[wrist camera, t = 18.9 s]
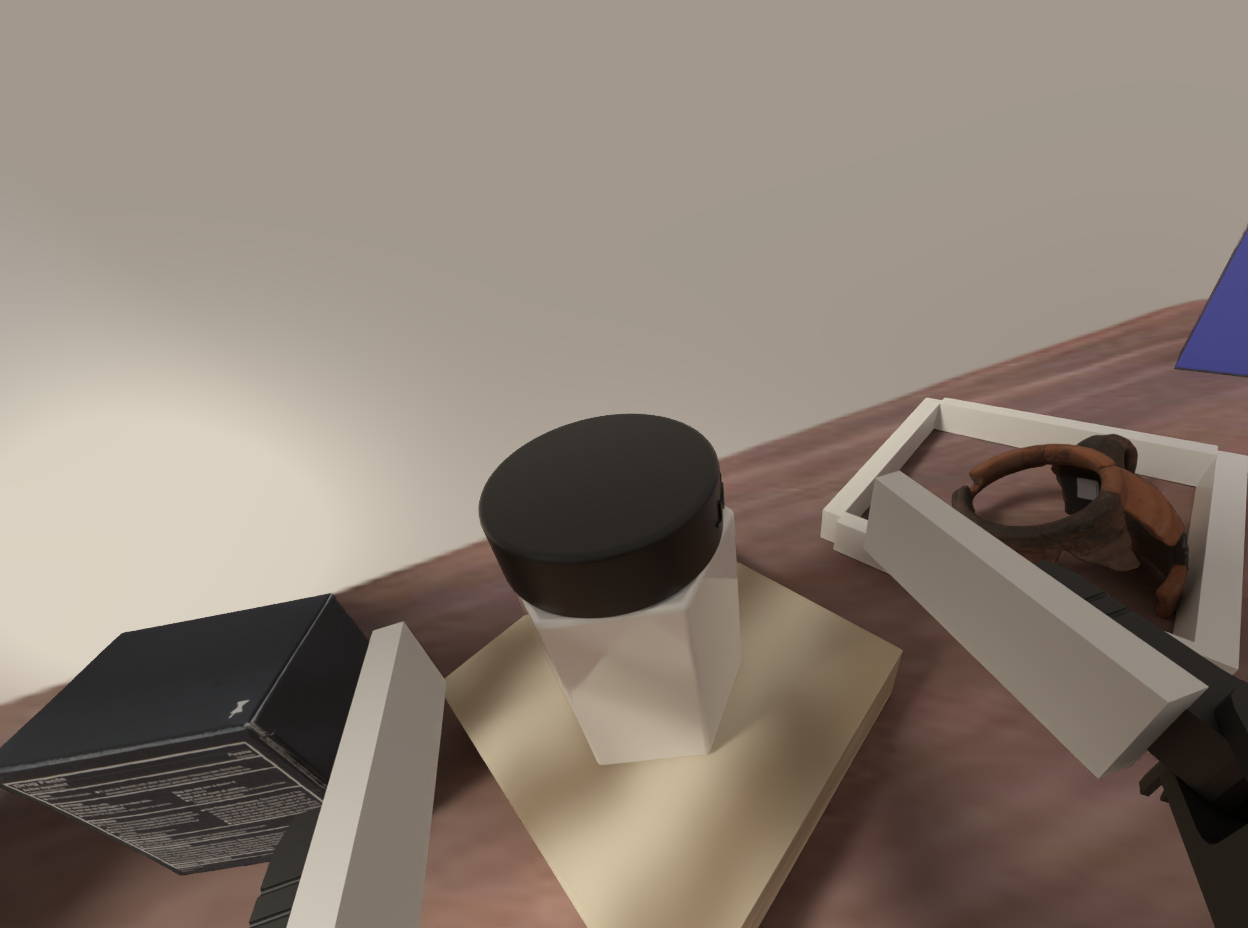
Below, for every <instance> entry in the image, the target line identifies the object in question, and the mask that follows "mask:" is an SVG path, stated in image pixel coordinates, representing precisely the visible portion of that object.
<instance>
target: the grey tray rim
mask: <svg viewBox="0 0 1248 928" xmlns="http://www.w3.org/2000/svg"><path fill="white" fill-rule="evenodd" d="M933 429H937V430H941V431H946V432H950V433H955V434H959V435H964V436H968V437H973V438H977V439H982V440H986V441H991V442H995V443H1000V444H1005V445H1009V446H1014V447H1018V448H1024V447H1028V446H1034V445H1045V444H1070V445H1077V444H1078V443H1079V442H1081V441H1082V440H1084V439H1086V438H1088V437H1090V436H1093V435H1108V434H1117V435H1120V436H1123V437H1125V438H1127V439H1129V440H1130V441H1131V442H1132V444H1133V445H1134V446H1135V447H1136V449H1137V452H1138V458H1137V466H1136V471H1135V473H1136V474H1140V475H1145V476H1149V477H1154V478H1159V479H1163V480H1168V481H1172V482H1177V483H1181V484H1186V485H1190V486H1195V487H1196V490H1195V496H1194V503H1193V509H1192V515H1191V522H1190V528H1189V535H1188V541H1187V543H1188V547H1189V556H1188V557H1189V562H1188V568H1189V569H1188V572H1187V579H1186V581H1185V583H1184V585H1183V588H1182V595H1181V600H1180V603H1179V605H1178V607H1177V611H1176V618H1175V624H1174V630H1173V634H1171V633H1168V632H1167V633H1168V634H1170V635H1171V636H1173V637H1174V638H1176V639H1177V640H1179V641H1180V642H1182V643H1183V644H1185V645H1186V646H1188V647H1189V648H1191V649H1192V650H1194V651H1195V652H1197V653H1198V654H1200V655H1201V656H1203V657H1204V658H1206V659H1207V660H1209V661H1210V662H1212V663H1213V664H1215V665H1216V666H1218V667H1220V668H1221V669H1223V670H1224V671H1226V672H1228V673H1229V674H1231V675H1233V674H1234V673H1235V672H1236V671H1237V670H1238V669H1239V648H1240V626H1241V604H1242V583H1243V561H1244V539H1245V517H1246V495H1247V473H1248V456H1246V455H1240V454H1235V453H1229V452H1224V451H1218V446H1216V445H1210V444H1204V443H1199V442H1193V441H1187V440H1182V439H1176V438H1170V437H1165V436H1159V435H1154V434H1148V433H1142V432H1137V431H1131V430H1125V429H1120V428H1114V427H1108V426H1103V425H1097V424H1091V423H1086V422H1080V421H1074V420H1069V419H1063V418H1058V417H1052V416H1046V415H1041V414H1035V413H1029V412H1024V411H1018V410H1012V409H1007V408H1001V407H995V406H990V405H984V404H978V403H973V402H967V401H961V400H956V399H950V398H944V399H943V400H937V399H932V398H926V399H925V400H924V401H923V402H922V403H921V404H920V405H919V406H918V407H917V408H916V409H915V410H914V412H913V413H912V414H911V415H910V416H909V417H908V418H907V419H906V420H905V421H904V422H903V423H902V425H901V426H900V427H899V428H898V429H897V430H896V431H895V432H894V433H893V434H892V435H891V437H890V438H889V439H888V440H887V441H886V442H885V443H884V444H883V445H882V446H881V447H880V448H879V450H878V451H877V452H876V453H875V454H874V455H873V456H872V457H871V458H870V459H869V460H868V461H867V463H866V464H865V465H864V466H863V467H862V468H861V469H860V470H859V471H858V472H857V473H856V474H855V476H854V477H853V478H852V479H851V480H850V481H849V482H848V483H847V484H846V485H845V486H844V487H843V489H842V490H841V491H840V492H839V493H838V494H837V495H836V496H835V497H834V498H833V499H832V500H831V502H830V503H829V504H828V505H827V506H826V507H825V508H824V509H823V514H822V525H821V536H820V537H821V538H823V539H826V540H828V541H831V542H833V543H834V547H833V550H835V551H838V552H840V553H842V554H844V555H847V556H849V557H851V558H854V559H856V560H858V561H860V562H863V563H865V564H867V565H870V566H872V567H874V568H876V569H879V570H881V571H883V572H886V573H888V572H887V571H886V570H885V569H884V568H883V567H882V566H881V565H880V564H879V563H878V562H877V561H876V560H875V559H874V558H873V557H872V556H871V555H870V554H869V553H868V552H867V551H866V550H865V549H864V543H865V536H866V530H867V524H868V520H866V519H863V518H860V517H861V516H862V514H863V513H864V512H865V511H866V510H867V508H868V507H869V506H870V505H871V499H872V493H873V487H874V481H875V478H877V477H880V476H883V475H886V474H890V473H893V472H896V471H899V470H900V469H901V468H902V466H903V465H904V464H905V463H906V462H907V460H908V459H909V458H910V457H911V456H912V454H913V453H914V452H915V451H916V450H917V448H918V447H919V446H920V445H921V444H922V442H923V441H924V440H925V439H926V438H927V436H928V435H929V434H930V433H931V432H932V430H933ZM888 574H889V573H888ZM1165 632H1166V631H1165Z"/></svg>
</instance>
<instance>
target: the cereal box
mask: <svg viewBox="0 0 1248 928" xmlns="http://www.w3.org/2000/svg"><path fill="white" fill-rule="evenodd" d="M1174 369H1181V370H1189V371H1198V372H1207V373H1215V374H1224V375H1233V376H1241V377H1248V225H1247V227H1246V229H1245V230H1244V232H1243V234H1242V236H1241V238H1240V240H1239V242H1238V244H1237V246H1236V248H1235V249H1234V251H1233V253H1232V255H1231V257H1230V259H1229V261H1228V263H1227V265H1226V267H1225V268H1224V270H1223V272H1222V274H1221V276H1220V278H1219V280H1218V282H1217V284H1216V286H1215V288H1214V289H1213V291H1212V293H1211V295H1210V297H1209V299H1208V301H1207V303H1206V305H1205V306H1204V308H1203V310H1202V312H1201V314H1200V316H1199V318H1198V320H1197V322H1196V324H1195V325H1194V327H1193V329H1192V331H1191V333H1190V335H1189V337H1188V339H1187V341H1186V343H1185V344H1184V346H1183V348H1182V350H1181V353H1180V355H1179V358H1178V360H1177V363H1176V366H1175V368H1174Z"/></svg>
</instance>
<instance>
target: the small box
mask: <svg viewBox="0 0 1248 928" xmlns="http://www.w3.org/2000/svg"><path fill="white" fill-rule="evenodd" d="M368 645H369V640H368V639H367V638H366V637H365V635H364V634H363V633H362V632H361V630H360V629H359V628H358V627H357V625H356V624H355V623H354V621H353V620H352V619H351V618H350V617H349V615H348V614H347V613H346V612H345V610H344V609H343V608H342V606H341V605H340V604H339V603H338V601H337V600H336V598H335V596H334V595H333V594H331V593H329V594H325V595H319V596H315V597H309V598H304V599H299V600H294V601H289V602H284V603H278V604H273V605H268V606H263V607H257V608H253V609H247V610H242V611H237V612H231V613H227V614H221V615H215V616H210V617H205V618H200V619H195V620H190V621H184V622H179V623H173V624H168V625H163V626H158V627H152V628H146V629H141V630H136V631H131V632H125V633H122V634H121V635H120V636H118V637H117V638H116V639H115V640H114V641H113V642H112V643H111V644H110V645H108V646H107V647H106V648H105V649H104V650H103V651H102V652H101V653H100V654H99V655H98V656H97V657H96V658H95V659H94V660H93V661H92V662H91V663H90V664H89V665H87V666H86V668H84V669H83V670H82V671H81V672H80V673H79V674H78V675H77V676H76V677H75V678H74V679H73V680H72V681H71V682H70V683H69V684H68V685H67V686H66V687H65V688H64V689H63V690H62V691H60V692H59V693H58V694H57V695H56V696H55V697H54V698H53V699H52V700H51V701H50V702H49V703H48V704H47V705H46V706H45V707H44V708H43V709H41V710H40V711H39V712H38V713H37V714H36V715H35V716H34V717H33V718H32V719H31V720H30V721H29V722H28V723H26V724H25V725H24V726H23V727H22V728H21V729H20V730H19V731H18V732H17V733H16V734H15V735H14V736H13V737H11V738H10V739H9V740H8V741H7V742H6V743H5V744H4V745H3V746H2V747H1V748H0V788H2V789H4V790H6V791H9V792H11V793H13V794H17V795H19V796H21V797H25V798H27V799H29V800H31V801H34V802H36V803H38V804H40V805H44V806H45V807H46V808H48V809H51V810H55V811H56V812H58V813H59V814H62V815H64V816H66V817H68V818H70V819H71V820H73V821H75V822H78V823H80V824H82V825H84V826H86V827H88V828H90V829H92V830H94V831H96V832H98V833H101V834H102V835H104V836H107V837H109V838H110V839H112V840H114V841H116V842H118V843H120V844H122V845H125V846H127V847H129V848H131V849H132V850H134V851H136V852H139V853H141V854H143V855H145V856H147V857H148V858H150V859H152V860H154V861H156V862H158V863H159V864H161V865H163V866H165V867H166V868H168V869H170V870H172V871H173V872H175V873H177V874H179V875H187V874H192V873H199V872H207V871H213V870H220V869H225V868H230V867H238V866H247V865H250V864H256V863H263V862H269V861H270V860H271V857H272V854H273V851H274V850H275V848H276V846H277V845H278V843H279V841H280V840H281V838H282V836H283V835H284V833H285V832H286V830H287V828H288V827H289V825H290V823H291V822H292V820H293V818H294V817H295V815H297V814H299V813H302V812H305V811H308V810H311V809H314V808H317V807H320V806H322V804H323V800H324V797H325V793H326V790H327V786H328V783H329V779H330V776H331V773H332V769H333V766H334V762H335V759H336V755H337V752H338V749H339V745H340V742H341V738H342V735H343V731H344V728H345V724H346V721H347V718H348V714H349V711H350V707H351V704H352V700H353V697H354V694H355V690H356V687H357V683H358V680H359V676H360V673H361V669H362V666H363V663H364V659H365V656H366V652H367V649H368Z"/></svg>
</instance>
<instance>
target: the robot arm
mask: <svg viewBox="0 0 1248 928" xmlns="http://www.w3.org/2000/svg"><path fill="white" fill-rule="evenodd" d="M864 549H865V550H866V551H867V552H868V553H869V554H870V555H871V556H872V557H873V558H874V559H875V560H876V561H877V562H878V563H879V564H880V565H881V566H882V567H883V568H884V569H885V570H886V571H887V572H888V573H889V574H890V575H891V576H892V577H893V578H894V579H895V580H896V581H897V582H898V583H899V584H900V585H901V586H902V587H903V588H904V589H905V590H906V591H907V592H908V593H909V594H910V595H911V596H912V597H913V598H914V599H915V600H916V601H917V602H919V603H920V604H921V605H922V606H923V607H924V608H925V609H926V610H927V611H928V612H929V613H930V614H931V615H932V616H933V617H934V618H935V619H936V620H937V621H938V622H939V623H940V624H941V625H942V626H943V627H944V628H945V629H946V630H947V631H948V632H949V633H950V634H951V635H952V636H953V637H954V638H955V639H956V640H957V641H958V642H959V643H960V644H961V645H962V646H963V647H964V648H965V649H966V650H967V651H968V652H969V653H970V654H971V655H972V656H973V657H974V658H975V659H977V660H978V661H979V662H980V663H981V664H982V665H983V666H984V667H985V668H986V669H987V670H988V671H989V672H990V673H991V674H992V675H993V676H994V677H995V678H996V679H997V680H998V681H999V682H1000V683H1001V684H1002V685H1003V686H1004V687H1005V688H1006V689H1007V690H1008V691H1009V692H1010V693H1011V694H1012V695H1013V696H1014V697H1015V698H1016V699H1017V700H1018V701H1019V702H1020V703H1021V704H1022V705H1023V706H1024V707H1025V708H1026V709H1027V710H1028V711H1029V712H1030V713H1031V714H1032V715H1033V716H1035V717H1036V718H1037V719H1038V720H1039V721H1040V722H1041V723H1042V724H1043V725H1044V726H1045V727H1046V728H1047V729H1048V730H1049V731H1050V732H1051V733H1052V734H1053V735H1054V736H1055V737H1056V738H1057V739H1058V740H1059V741H1060V742H1061V743H1062V744H1063V745H1064V746H1065V747H1066V748H1067V749H1068V750H1069V751H1070V752H1071V753H1072V754H1073V755H1074V756H1075V757H1076V758H1077V759H1078V760H1079V761H1080V762H1081V763H1082V764H1083V765H1084V766H1085V767H1086V768H1087V769H1088V770H1089V771H1090V772H1091V773H1093V774H1094V775H1095V776H1096V777H1097V778H1098V779H1099V778H1102V777H1105V776H1107V775H1110V774H1112V773H1115V772H1117V771H1120V770H1122V769H1125V768H1127V767H1130V766H1132V765H1133V764H1134V763H1135V762H1136V761H1137V760H1138V759H1139V758H1140V757H1141V756H1142V755H1143V754H1144V753H1145V752H1146V751H1147V750H1148V751H1149V752H1150V753H1151V754H1152V755H1154V756H1155V757H1156V758H1157V759H1158V760H1159V762H1158V763H1157V764H1156V765H1155V766H1154V767H1153V768H1152V769H1150V770H1149V771H1148V772H1147V773H1146V774H1145V775H1144V777H1143V778H1142V779H1141V781H1140V782H1139V784H1140V794H1142V795H1145V796H1148V797H1149V796H1150V795H1151V794H1152V793H1153V792H1154V791H1155V790H1156V789H1157V788H1159V787H1160V786H1161V785H1162V786H1163V789H1164V791H1163V792H1162V795H1161V797H1160V800H1161V801H1164V802H1167V803H1169V805H1170V807H1171V810H1172V813H1173V815H1174V818H1175V821H1176V824H1177V826H1178V829H1179V832H1180V834H1181V837H1182V840H1183V842H1184V845H1185V848H1186V850H1187V853H1188V856H1189V858H1190V861H1191V864H1192V867H1193V869H1194V872H1195V875H1196V877H1197V880H1198V883H1199V885H1200V888H1201V891H1202V893H1203V896H1204V899H1205V901H1206V904H1207V907H1208V910H1209V912H1210V915H1211V918H1212V920H1213V923H1214V926H1215V928H1248V683H1246V682H1244V681H1242V680H1240V679H1238V678H1236V677H1235V676H1233V675H1231V674H1229V673H1228V672H1226V671H1224V670H1223V669H1221V668H1220V667H1218V666H1216V665H1215V664H1213V663H1212V662H1210V661H1209V660H1207V659H1206V658H1204V657H1203V656H1201V655H1200V654H1198V653H1197V652H1195V651H1194V650H1192V649H1191V648H1189V647H1188V646H1186V645H1185V644H1183V643H1182V642H1180V641H1179V640H1177V639H1176V638H1174V637H1173V636H1171V635H1170V634H1168V633H1167V632H1165V631H1164V630H1162V629H1161V628H1159V627H1158V626H1156V625H1155V624H1153V623H1152V622H1150V621H1148V620H1147V619H1145V618H1144V617H1142V616H1141V615H1139V614H1138V613H1136V612H1135V611H1130V610H1129V609H1128V607H1127V606H1126V605H1124V604H1123V603H1121V602H1120V601H1118V600H1117V599H1115V598H1114V597H1112V596H1111V595H1110V596H1108V595H1106V594H1105V591H1103V590H1102V589H1100V588H1099V587H1097V586H1096V585H1094V584H1093V583H1091V582H1090V581H1088V580H1087V579H1085V578H1083V577H1082V576H1080V575H1079V574H1077V573H1075V572H1073V571H1071V570H1068V569H1066V568H1063V567H1061V566H1059V565H1056V564H1054V563H1051V562H1049V561H1047V560H1044V561H1041V562H1038V563H1035V564H1032V563H1031V562H1030V561H1028V560H1027V559H1025V558H1024V557H1022V556H1021V555H1020V554H1018V553H1017V552H1015V551H1014V550H1012V549H1011V548H1010V547H1008V546H1007V545H1005V544H1004V543H1002V542H1001V541H1000V540H998V539H997V538H995V537H994V536H992V535H991V534H990V533H988V532H987V531H985V530H984V529H982V528H981V527H980V526H978V525H977V524H975V523H974V522H972V521H971V520H970V519H968V518H967V517H965V516H964V515H962V514H961V513H959V512H958V511H957V510H955V509H954V508H952V507H951V506H949V505H948V504H947V503H945V502H944V501H942V500H941V499H939V498H938V497H937V496H935V495H934V494H932V493H931V492H929V491H928V490H927V489H925V488H924V487H922V486H921V485H919V484H918V483H917V482H915V481H914V480H912V479H911V478H909V477H908V476H907V475H905V474H904V473H902V472H901V471H896V472H893V473H890V474H886V475H883V476H880V477H877V478H875V481H874V487H873V493H872V499H871V506H870V512H869V518H868V524H867V530H866V536H865V543H864ZM446 683H447V682H446V681H445V679H444V678H443V676H442V675H441V673H440V672H439V671H438V669H437V668H436V666H435V665H434V664H433V662H432V661H431V659H430V658H429V656H428V655H427V654H426V652H425V651H424V649H423V648H422V647H421V645H420V644H419V642H418V641H417V640H416V638H415V637H414V635H413V634H412V632H411V631H410V630H409V628H408V627H407V625H406V624H405V623H404V621H403V622H400V623H397V624H393V625H390V626H387V627H383V628H380V629H377V630H374V631H373V632H372V635H371V639H370V642H369V645H368V649H367V652H366V656H365V659H364V663H363V666H362V669H361V673H360V676H359V680H358V683H357V687H356V690H355V694H354V697H353V700H352V704H351V707H350V711H349V714H348V718H347V721H346V724H345V728H344V731H343V735H342V738H341V742H340V745H339V749H338V752H337V755H336V759H335V762H334V766H333V769H332V773H331V776H330V779H329V783H328V786H327V790H326V793H325V797H324V800H323V804H322V806H320V807H317V808H314V809H311V810H308V811H305V812H302V813H299V814H297V815H295V817H294V818H293V820H292V822H291V823H290V825H289V827H288V828H287V830H286V832H285V833H284V835H283V836H282V838H281V840H280V841H279V843H278V845H277V846H276V848H275V850H274V851H273V854H272V857H271V860H270V863H269V866H268V869H267V872H266V874H265V877H264V880H263V883H262V886H261V889H260V890H261V895H260V897H258V898H257V901H256V903H255V906H254V909H253V912H252V915H251V918H250V921H249V923H250V927H249V928H420V920H421V911H422V902H423V893H424V884H425V874H426V865H427V856H428V847H429V838H430V829H431V820H432V811H433V802H434V793H435V783H436V774H437V765H438V756H439V747H440V738H441V729H442V720H443V711H444V701H445V692H446Z"/></svg>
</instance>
